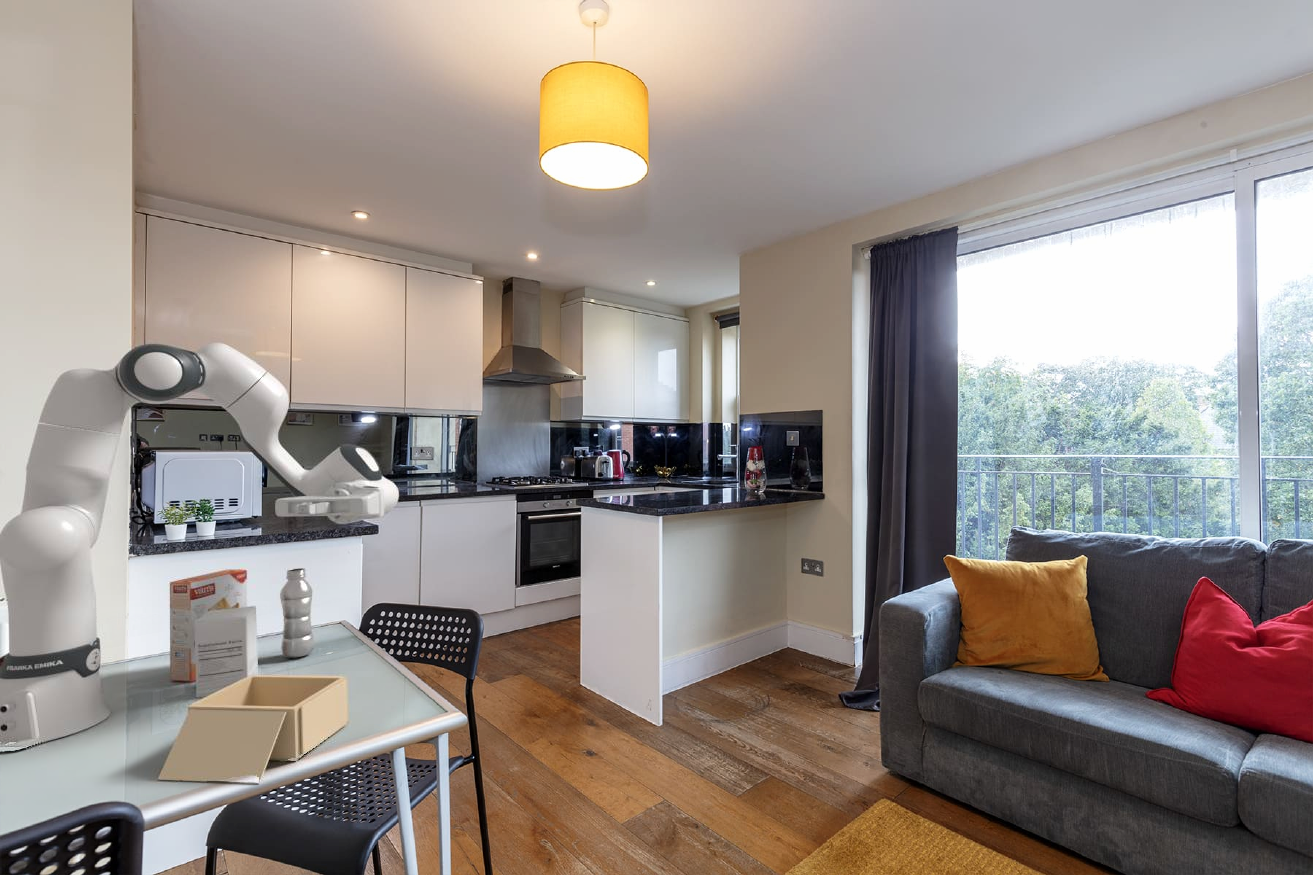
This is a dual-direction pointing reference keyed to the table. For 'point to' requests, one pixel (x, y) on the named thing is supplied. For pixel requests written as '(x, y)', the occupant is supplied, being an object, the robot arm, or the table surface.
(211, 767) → the flap
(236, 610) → the supplement box
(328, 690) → the carton
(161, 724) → the table surface
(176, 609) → the cracker box
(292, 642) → the plastic bottle
